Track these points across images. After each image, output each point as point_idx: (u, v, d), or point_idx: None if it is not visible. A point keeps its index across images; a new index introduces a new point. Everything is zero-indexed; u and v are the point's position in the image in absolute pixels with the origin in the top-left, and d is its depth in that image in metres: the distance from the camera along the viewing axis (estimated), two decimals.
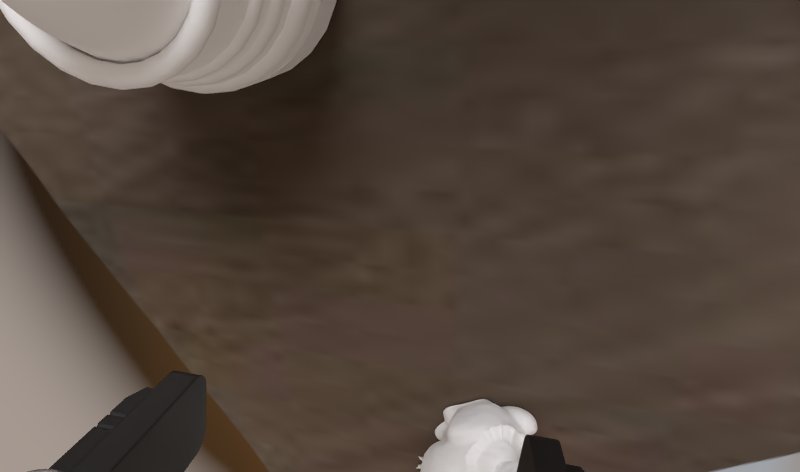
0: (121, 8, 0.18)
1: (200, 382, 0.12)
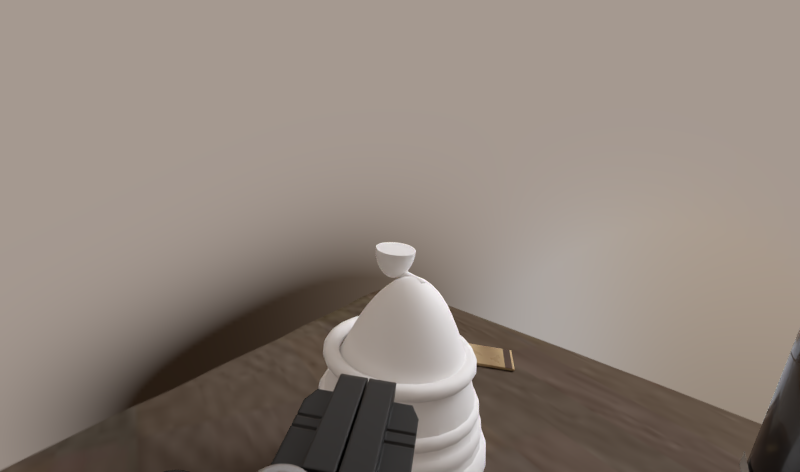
0: (395, 339, 0.30)
1: (366, 384, 0.13)
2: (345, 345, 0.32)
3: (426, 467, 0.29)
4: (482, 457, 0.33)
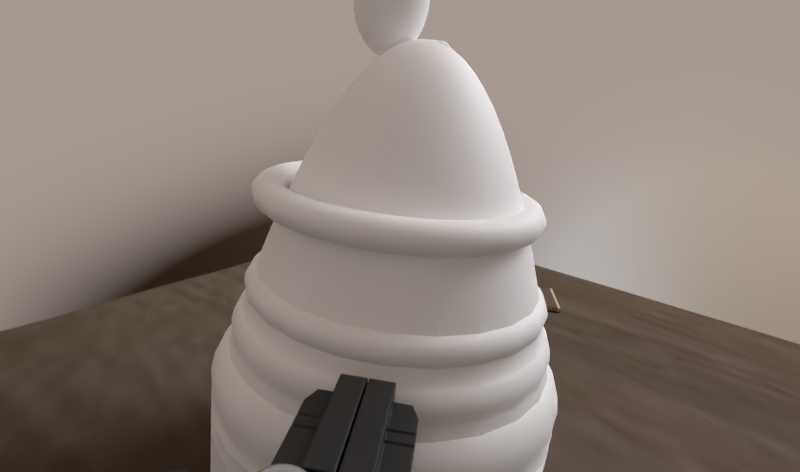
0: (390, 133, 0.14)
1: (366, 384, 0.13)
2: (295, 175, 0.17)
3: (453, 399, 0.14)
4: (553, 395, 0.18)
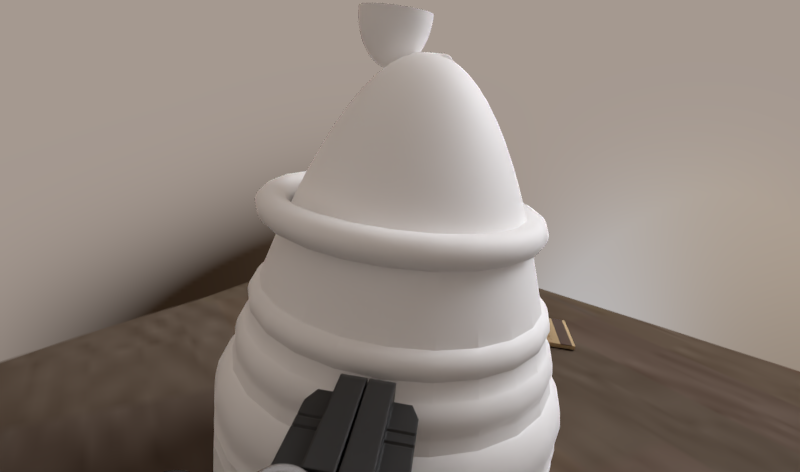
0: (390, 147, 0.14)
1: (366, 384, 0.13)
2: (298, 187, 0.17)
3: (451, 413, 0.14)
4: (555, 410, 0.17)
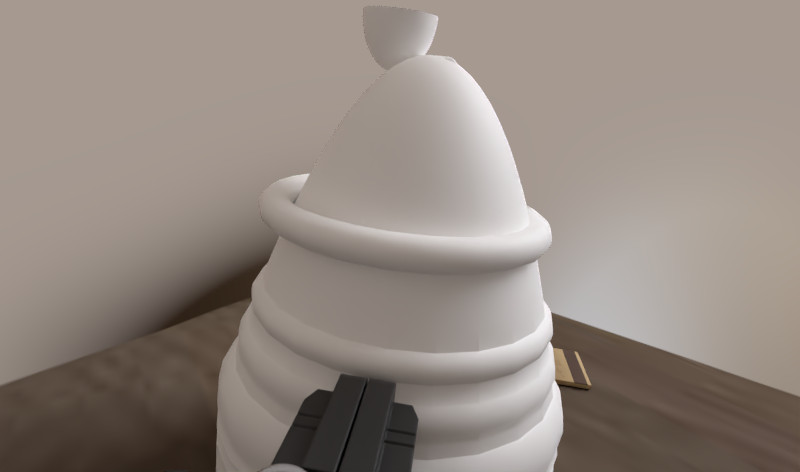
0: (391, 149, 0.14)
1: (366, 384, 0.13)
2: (302, 189, 0.17)
3: (450, 416, 0.14)
4: (558, 414, 0.17)
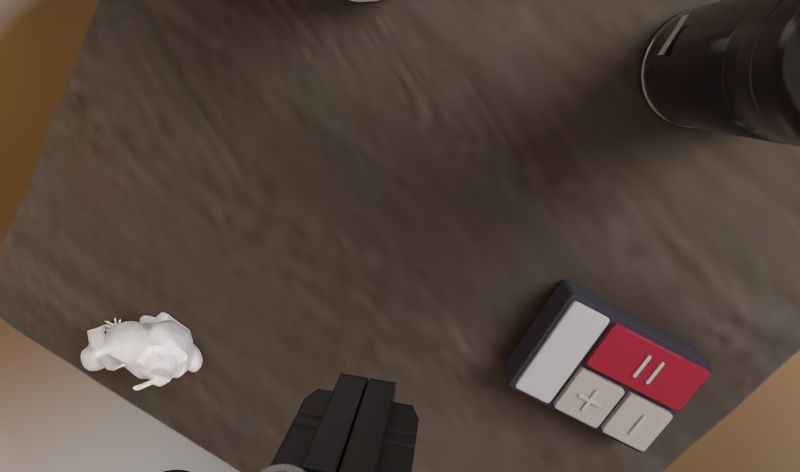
0: None
1: (366, 384, 0.13)
2: None
3: None
4: None
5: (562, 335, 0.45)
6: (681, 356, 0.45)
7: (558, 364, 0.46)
